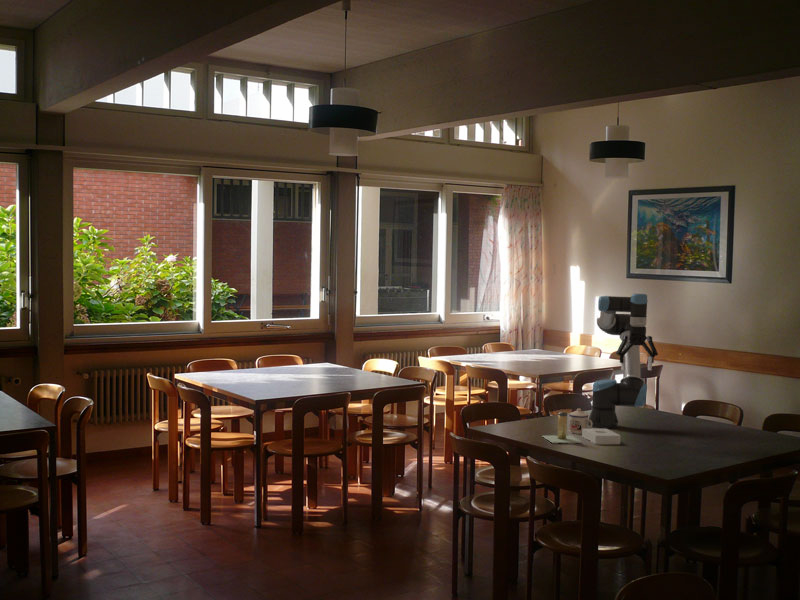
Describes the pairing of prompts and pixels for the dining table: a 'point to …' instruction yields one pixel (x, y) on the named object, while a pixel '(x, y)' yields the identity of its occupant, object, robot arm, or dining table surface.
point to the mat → (568, 440)
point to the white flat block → (601, 436)
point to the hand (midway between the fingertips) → (636, 370)
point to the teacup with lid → (579, 421)
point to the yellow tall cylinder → (562, 425)
